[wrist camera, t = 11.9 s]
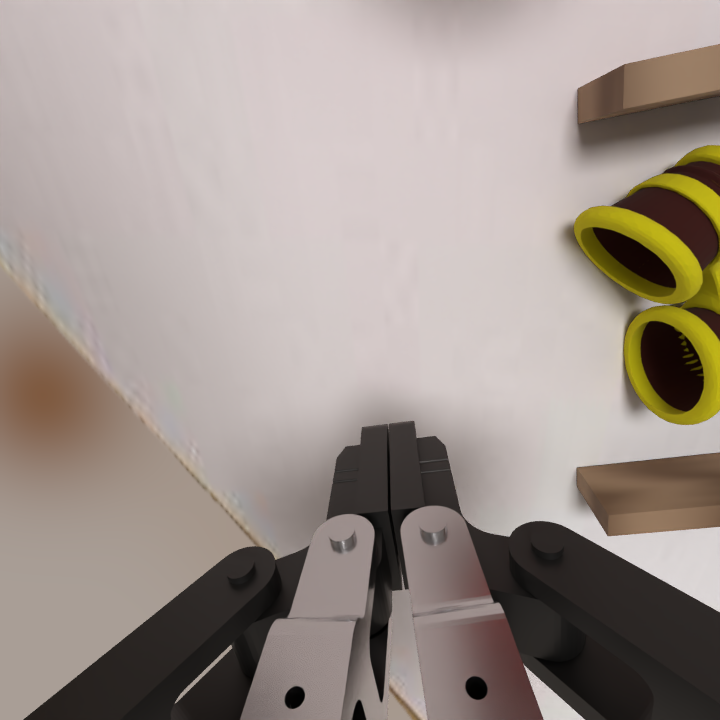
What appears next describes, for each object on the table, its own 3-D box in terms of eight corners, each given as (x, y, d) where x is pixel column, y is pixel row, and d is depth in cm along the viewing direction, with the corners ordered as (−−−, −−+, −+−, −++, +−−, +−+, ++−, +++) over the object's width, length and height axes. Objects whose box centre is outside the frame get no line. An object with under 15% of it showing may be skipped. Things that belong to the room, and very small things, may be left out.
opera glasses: (721, 345, 21) (844, 379, 16) (622, 400, 21) (714, 450, 16) (663, 149, 18) (792, 118, 13) (549, 215, 18) (635, 209, 13)
